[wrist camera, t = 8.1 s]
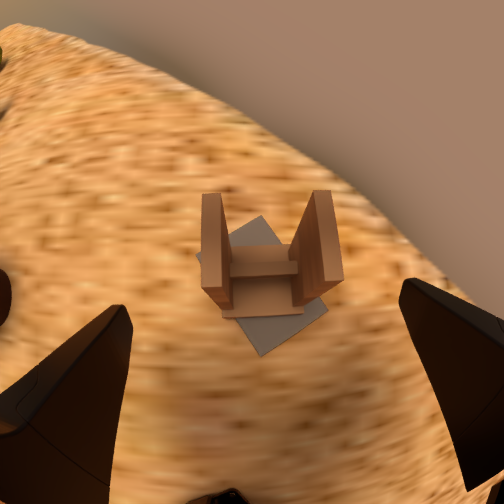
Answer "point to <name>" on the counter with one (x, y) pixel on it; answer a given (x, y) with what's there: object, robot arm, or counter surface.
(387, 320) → the counter surface
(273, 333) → the mat
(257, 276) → the stool
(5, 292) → the coffee mug
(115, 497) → the counter surface
